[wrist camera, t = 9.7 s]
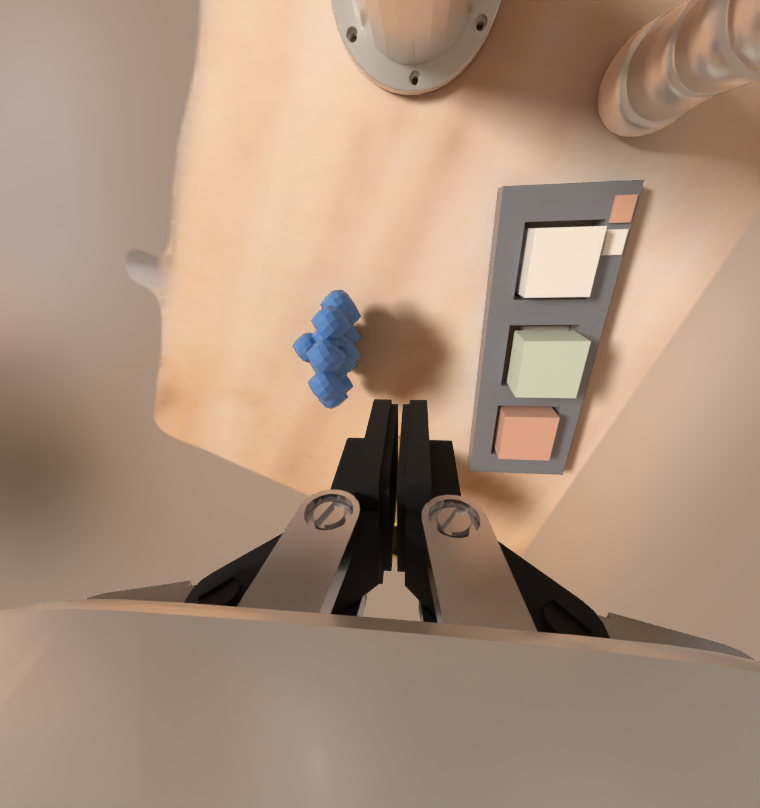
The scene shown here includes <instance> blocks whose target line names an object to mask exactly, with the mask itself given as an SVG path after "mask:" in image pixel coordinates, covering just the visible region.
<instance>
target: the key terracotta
mask: <svg viewBox="0 0 760 808" xmlns="http://www.w3.org/2000/svg"><path fill="white" fill-rule="evenodd" d="M559 419H560V417H559V416H558V415H557V413H556V412H555V411H554V409H553V408H552V407H551V406H498V408H497V415H496V422H495V429H494V436H493V445H494V448H495V451H496V453H497V456H498V459H515V460H545V461H549V459H550V455H551V451H552V447H553V443H554V439H555V435H556V431H557V427H558V423H559Z"/></svg>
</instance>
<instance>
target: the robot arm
mask: <svg viewBox="0 0 760 808" xmlns="http://www.w3.org/2000/svg"><path fill="white" fill-rule="evenodd" d="M500 3H501V0H331V5H332V10H333V14H334V17H335V21H336V24H337V28H338V31H339V33H340V36H341V38H342V41H343V43H344V45H345V47H346V49H347V51H348V53H349V55H350V57H351V58H352V60H353V62H354V63H355V64H356V65H357V67H358V68H359V69H360V70H361V72H362V73H363V74H364V75H365V76H366V77H367V78H369V79H370V80H371V81H372V82H373V83H374V84H376V85H377V86H379V87H381V88H383V89H385V90H387V91H389V92H392V93H397V94H401V95H420V94H424V93H428V92H432V91H435V90H436V89H438V88H440V87H442V86H444V85H446V84H448V83H449V82H450V81H452V80H453V79H454V78H455V77H457V76H458V75H459V74H460V73H462V72H463V70H464V69H465V68H466V67H467V66H468V65H469V64H470V62H471V61H472V60H473V59H474V58H475V56H476V55H477V53H478V51H479V50H480V48H481V47H482V45H483V44H484V42H485V40H486V38H487V36H488V34H489V32H490V29H491V27H492V25H493V23H494V20H495V18H496V15H497V12H498V9H499V6H500ZM479 24H480V25H482V27H483V29H482V31H479V30H477V29H476V27H477V25H479ZM353 36H355V37H357V39H356V41H355V42H353V43H352V42H351V38H352V37H353ZM414 78H416V79H417V80H418V83H417V85H413V84H412V80H413V79H414ZM396 503H397V564H398V565H397V566H398V571H400V572H405V586H406V587H407V588H408V589H409V590H410V591H411V592H412V593H413V594H414V595H415V596H416V598H417V599H418V600H419V614H420V621H421V622H419V621H406V620H395V619H383V618H371V617H362V616H363V612H364V608H365V605H366V599H367V593H368V592H369V591H371V590H372V589H373V588H374V587H376V586H377V585H378V584H382V583H383V574H384V571H391V568H392V556H393V542H394V529H395V516H396ZM0 808H760V661H756V660H754V659H753V658H751V657H750V656H748V655H747V654H745V653H743V652H742V651H739V650H737V649H734V648H732V647H729V646H727V645H725V644H721V643H718V642H714V641H710V640H707V639H703V638H700V637H696V636H692V635H689V634H685V633H682V632H678V631H675V630H671V629H667V628H664V627H660V626H657V625H653V624H649V623H646V622H642V621H639V620H635V619H631V618H627V617H624V616H621V615H617V614H613V613H610V612H609V613H608V616H607V617H603V616H599V615H597V614H596V613H595V612H594V611H593V610H592V609H591V608H590V607H589V606H588V605H586V604H585V603H584V602H583V601H582V600H580V599H579V598H577V597H576V596H575V595H573V594H572V593H571V592H569V591H568V590H566V589H565V588H563V587H562V586H560V585H559V584H558V583H556V582H555V581H553V580H552V579H551V578H549V577H548V576H546V575H545V574H544V573H542V572H541V571H539V570H538V569H536V568H535V567H534V566H532V565H531V564H530V563H528V562H527V561H525V560H524V559H522V558H521V557H520V556H518V555H517V554H515V553H514V552H513V551H511V550H510V549H508V548H507V547H506V546H504V545H503V544H501V543H500V542H498V541H497V539H496V536H495V534H494V532H493V530H492V527H491V525H490V523H489V520H488V518H487V516H486V514H485V513H484V511H483V510H482V508H481V507H480V506H478V505H477V504H476V503H475V502H473V501H471V500H469V499H467V498H465V497H462V496H461V493H460V487H459V481H458V475H457V468H456V462H455V456H454V450H453V444H452V441H442V440H429V429H428V411H427V400H410V404H403V411H402V423H401V436H400V448H399V460H398V404H392V401H391V400H382V399H374V402H373V406H372V410H371V414H370V418H369V422H368V426H367V430H366V434H365V438H348V439H347V441H346V444H345V447H344V450H343V453H342V456H341V459H340V462H339V465H338V468H337V471H336V474H335V477H334V480H333V483H332V486H331V489H330V490H325V491H321V492H318V493H316V494H313V495H312V496H310V497H309V498H307V499H306V500H305V501H304V502H303V503H302V504H301V506H300V507H299V509H298V510H297V512H296V513H295V515H294V517H293V518H292V520H291V522H290V523H289V525H288V526H287V528H286V529H285V531H284V532H283V533H282V534H280V535H279V536H277V537H275V538H273V539H272V540H270V541H268V542H266V543H265V544H263V545H261V546H259V547H257V548H256V549H254V550H252V551H250V552H249V553H247V554H245V555H243V556H242V557H240V558H238V559H236V560H234V561H233V562H231V563H229V564H227V565H225V566H224V567H222V568H220V569H218V570H217V571H215V572H213V573H211V574H210V575H208V576H207V577H206V578H204V579H203V580H201V581H200V582H199V583H198V584H197V585H193V586H192V584H191V581H184V582H177V583H170V584H163V585H157V586H149V587H143V588H136V589H129V590H123V591H116V592H108V593H102V594H99V595H96V596H92V597H89V598H87V599H75V600H62V601H49V602H43V603H37V604H31V605H25V606H20V607H14V608H9V609H5V610H2V611H0Z"/></svg>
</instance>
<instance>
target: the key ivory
mask: <svg viewBox="0 0 760 808" xmlns="http://www.w3.org/2000/svg"><path fill="white" fill-rule="evenodd" d="M606 229H607V226H577V227H547V228H524V232H523V239H522V246H521V253H520V259H519V266H518V273H517V280H516V286H515V292H516V293H518V294H519V295H521V296H522V297H524V298H549V297H590V294H591V290H592V286H593V282H594V277H595V273H596V269H597V265H598V261H599V257H600V253H601V249H602V245H603V241H604V237H605V233H606Z"/></svg>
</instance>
